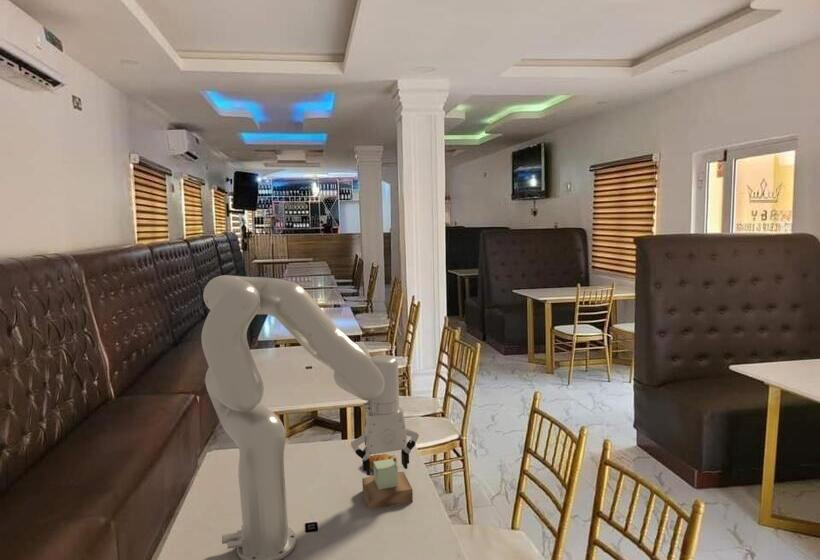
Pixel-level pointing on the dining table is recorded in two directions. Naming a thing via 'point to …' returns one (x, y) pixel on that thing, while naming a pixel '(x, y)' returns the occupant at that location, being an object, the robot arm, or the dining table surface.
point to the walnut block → (387, 493)
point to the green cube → (385, 474)
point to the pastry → (379, 458)
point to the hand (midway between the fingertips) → (386, 469)
